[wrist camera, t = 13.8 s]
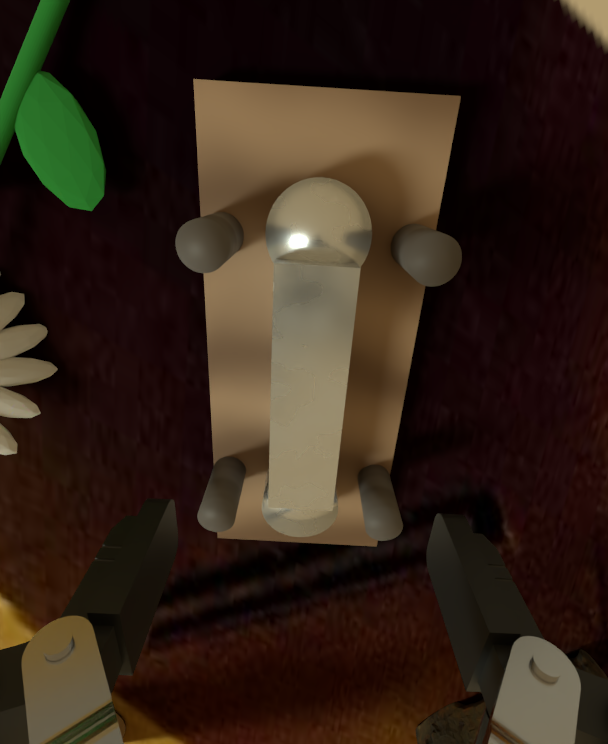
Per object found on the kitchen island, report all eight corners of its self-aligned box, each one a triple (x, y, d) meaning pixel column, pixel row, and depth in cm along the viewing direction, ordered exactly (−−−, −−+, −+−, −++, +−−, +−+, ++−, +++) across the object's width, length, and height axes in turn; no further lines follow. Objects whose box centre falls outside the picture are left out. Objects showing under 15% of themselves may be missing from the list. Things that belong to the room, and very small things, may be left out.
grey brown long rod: (580, 639, 34) (616, 702, 30) (599, 660, 36) (637, 724, 31) (399, 711, 40) (409, 773, 36) (421, 728, 41) (433, 789, 37)
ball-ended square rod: (370, 180, 18) (383, 180, 15) (332, 508, 26) (335, 553, 23) (271, 174, 18) (263, 173, 15) (265, 504, 26) (259, 548, 23)
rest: (373, 529, 29) (386, 601, 24) (222, 521, 29) (203, 591, 24) (449, 102, 18) (503, 71, 13) (202, 87, 18) (159, 49, 13)
